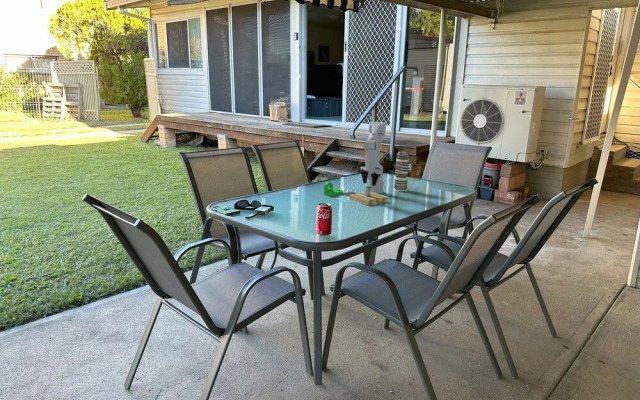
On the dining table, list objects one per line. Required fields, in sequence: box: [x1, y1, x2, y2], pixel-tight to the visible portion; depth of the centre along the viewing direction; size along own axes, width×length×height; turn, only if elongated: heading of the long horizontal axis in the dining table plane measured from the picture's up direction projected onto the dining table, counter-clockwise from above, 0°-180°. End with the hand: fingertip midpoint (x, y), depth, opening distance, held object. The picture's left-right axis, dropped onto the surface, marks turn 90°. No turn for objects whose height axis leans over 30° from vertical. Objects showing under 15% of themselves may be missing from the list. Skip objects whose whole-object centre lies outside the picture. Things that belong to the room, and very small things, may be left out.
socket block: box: [348, 191, 389, 206], centre depth 250 cm, size 16×16×3 cm
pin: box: [364, 186, 371, 197], centre depth 250 cm, size 3×3×8 cm
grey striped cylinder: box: [393, 150, 410, 192], centre depth 277 cm, size 9×9×25 cm
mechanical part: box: [323, 181, 344, 198], centre depth 262 cm, size 12×6×8 cm, turn 131°
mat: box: [342, 191, 357, 198], centre depth 265 cm, size 10×10×1 cm
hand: (369, 184), depth 248 cm, fingers open, 7 cm apart
